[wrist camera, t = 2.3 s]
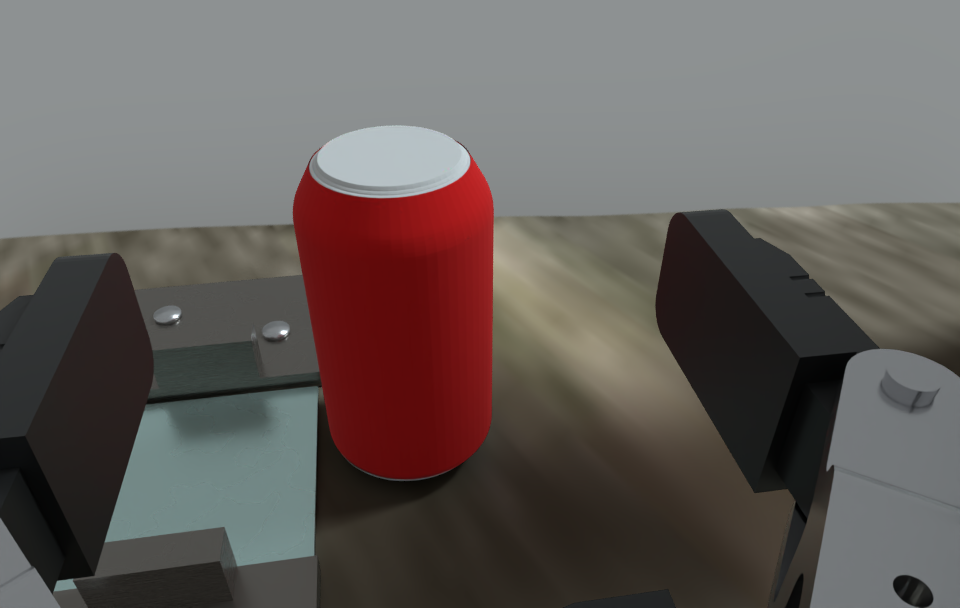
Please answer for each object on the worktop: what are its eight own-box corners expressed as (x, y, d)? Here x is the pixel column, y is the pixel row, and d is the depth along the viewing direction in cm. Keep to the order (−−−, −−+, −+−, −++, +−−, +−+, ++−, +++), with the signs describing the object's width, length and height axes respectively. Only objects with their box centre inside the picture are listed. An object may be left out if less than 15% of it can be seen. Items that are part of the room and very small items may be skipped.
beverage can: (366, 373, 32) (333, 106, 25) (506, 396, 31) (512, 123, 24) (306, 480, 27) (244, 188, 20) (469, 513, 26) (464, 215, 19)
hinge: (324, 286, 37) (317, 238, 36) (316, 834, 18) (300, 787, 17) (138, 303, 36) (122, 255, 34) (-78, 907, 17) (-139, 864, 15)
